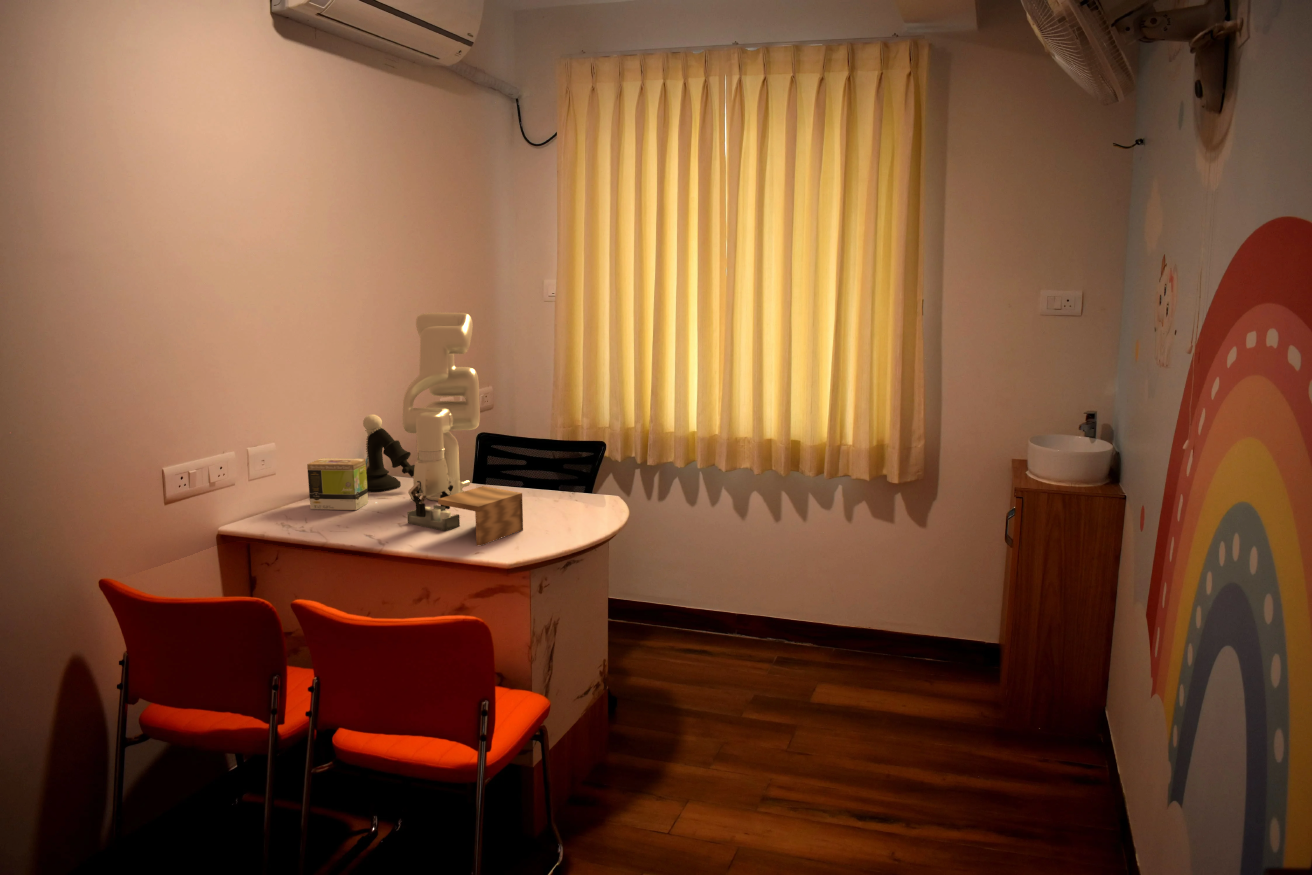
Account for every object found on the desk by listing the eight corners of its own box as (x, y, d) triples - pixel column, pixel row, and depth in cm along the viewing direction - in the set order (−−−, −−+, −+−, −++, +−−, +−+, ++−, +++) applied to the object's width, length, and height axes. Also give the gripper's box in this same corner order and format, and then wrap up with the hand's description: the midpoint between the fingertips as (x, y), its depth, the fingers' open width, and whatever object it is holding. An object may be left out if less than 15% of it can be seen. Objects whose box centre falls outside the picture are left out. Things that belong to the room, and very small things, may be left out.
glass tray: (422, 518, 274) (422, 502, 273) (459, 526, 266) (459, 509, 265) (407, 523, 269) (407, 506, 268) (444, 530, 261) (444, 514, 260)
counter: (483, 522, 270) (482, 486, 268) (523, 530, 262) (522, 492, 260) (439, 537, 255) (438, 498, 253) (479, 545, 247) (478, 506, 245)
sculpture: (374, 480, 323) (370, 410, 318) (430, 486, 314) (427, 414, 309) (344, 489, 309) (340, 416, 304) (402, 496, 300) (399, 421, 295)
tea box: (369, 503, 292) (366, 457, 289) (355, 511, 282) (353, 464, 279) (323, 501, 293) (321, 456, 290) (309, 509, 283) (306, 463, 280)
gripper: (443, 448, 273) (445, 503, 276) (398, 459, 258) (401, 517, 262) (461, 451, 269) (463, 507, 272) (417, 462, 255) (420, 521, 258)
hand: (433, 512), depth 267 cm, fingers open, 9 cm apart
